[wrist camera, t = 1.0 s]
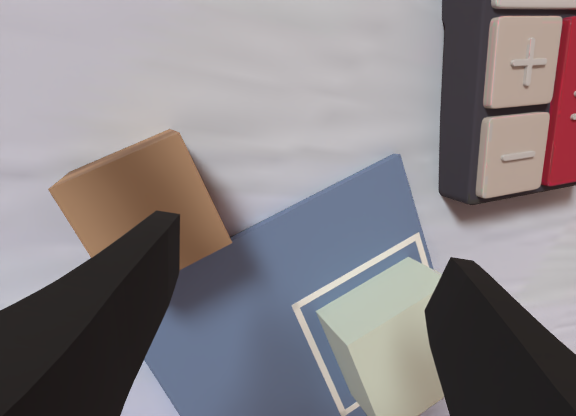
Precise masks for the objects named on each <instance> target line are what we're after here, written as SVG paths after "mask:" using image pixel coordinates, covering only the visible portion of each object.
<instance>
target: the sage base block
mask: <svg viewBox="0 0 576 416" xmlns="http://www.w3.org/2000/svg"><path fill="white" fill-rule="evenodd" d="M441 276H442V274H441V273H439V272H437V271H435V270H433V269H431V268H429V267H427V266H425V265H423V264H422V263H420V262H418V261H416V260H414V259H412V258H410V257H407V258H405V259H403V260H402V261H400V262H398V263H397V264H395V265H393V266H392V267H390V268H388V269H386V270H385V271H383V272H381V273H380V274H378V275H376V276H375V277H373V278H371V279H369V280H368V281H366V282H364V283H363V284H361V285H359V286H358V287H356V288H354V289H352V290H351V291H349V292H347V293H346V294H344V295H342V296H341V297H339V298H337V299H335V300H334V301H332V302H330V303H329V304H327V305H325V306H324V307H322V308H320V309H318V310H317V311H316V314H317V316H318V318H319V321H320V323H321V325H322V328H323V330H324V332H325V335H326V337H327V339H328V342H329V344H330V346H331V349H332V351H333V353H334V356H335V358H336V360H337V363H338V365H339V367H340V370H341V372H342V374H343V377H344V379H345V381H346V384H347V386H348V388H349V391H350V393H351V395H352V396H353V397H354V399H355V400H356V401H357V403H358V404H359V405H360V407H361V408H362V409H363V410H364V412H365V413H366V414H367V416H418V415H420V414H421V413H423V412H424V411H425V410H427V409H428V408H430V407H431V406H432V405H434V404H435V403H437V402H438V401H440V400H441V399H442V398H444V394H443V390H442V387H441V384H440V380H439V377H438V374H437V370H436V367H435V363H434V360H433V356H432V353H431V349H430V345H429V339H428V333H427V327H426V319H425V311H424V310H425V308H426V306H427V304H428V302H429V300H430V298H431V296H432V294H433V292H434V290H435V288H436V286H437V284H438V282H439V280H440V278H441Z"/></svg>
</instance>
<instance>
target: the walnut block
mask: <svg viewBox="0 0 576 416" xmlns="http://www.w3.org/2000/svg"><path fill="white" fill-rule="evenodd" d="M48 190H49V191H50V193H51V195H52V196H53V198H54V199H55V201H56V202H57V204H58V206H59V207H60V209H61V210H62V212H63V214H64V215H65V217H66V218H67V220H68V222H69V223H70V225H71V226H72V228H73V229H74V231H75V233H76V234H77V236H78V237H79V239H80V241H81V242H82V244H83V245H84V247H85V249H86V250H87V252H88V253H89V255H90V256H91V258H92V257H94V256H95V255H96V254H98V253H99V252H101V251H102V250H103V249H105V248H106V247H108V246H109V245H110V244H112V243H113V242H115V241H116V240H117V239H119V238H120V237H121V236H123V235H124V234H125V233H127V232H128V231H129V230H131V229H132V228H133V227H135V226H136V225H137V224H139V223H140V222H141V221H143V220H144V219H145V218H147V217H148V216H149V215H151V214H152V213H154V212H155V211H157V210H158V211H164V212H170V213H176V214H180V268H179V270H181V269H183V268H185V267H187V266H189V265H191V264H193V263H194V262H196V261H198V260H200V259H202V258H204V257H206V256H208V255H210V254H212V253H214V252H216V251H218V250H220V249H222V248H224V247H226V246H227V245H229V244H231V243H232V241H231V239H230V237H229V235H228V233H227V231H226V228H225V226H224V224H223V222H222V220H221V218H220V216H219V214H218V212H217V210H216V208H215V206H214V204H213V201H212V199H211V197H210V195H209V193H208V191H207V189H206V187H205V185H204V183H203V181H202V179H201V177H200V174H199V172H198V170H197V168H196V166H195V164H194V162H193V160H192V158H191V156H190V154H189V152H188V150H187V147H186V145H185V143H184V141H183V139H182V137H181V135H180V133H179V132H176V131H174V130H171V129H169V130H166V131H164V132H162V133H159V134H157V135H155V136H152V137H150V138H148V139H145V140H143V141H141V142H138V143H136V144H134V145H131V146H129V147H127V148H124V149H122V150H120V151H117V152H115V153H113V154H110V155H108V156H106V157H103V158H101V159H99V160H96V161H94V162H92V163H89V164H87V165H85V166H82V167H80V168H78V169H75V170H73V171H71V172H69V173H68V174H67V175H65V176H64V177H63V178H62V179H60V180H59V181H58V182H57V183H55V184H54V185H53V186H52V187H50V188H49V189H48Z"/></svg>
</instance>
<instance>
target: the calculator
mask: <svg viewBox="0 0 576 416" xmlns="http://www.w3.org/2000/svg"><path fill="white" fill-rule="evenodd" d="M442 20H443V23H444V26H445V37H444V56H443V74H442V92H441V111H440V147H439V193H440V194H441V195H442V196H445V197H448V198H451V199H454V200H457V201H460V202H463V203H466V204H470V205H475V204H480V203H485V202H490V201H496V200H501V199H506V198H511V197H517V196H522V195H527V194H532V193H538V192H543V191H548V190H553V189H559V188H564V187H569V186H574V185H576V0H442Z"/></svg>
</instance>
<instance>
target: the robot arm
mask: <svg viewBox="0 0 576 416" xmlns="http://www.w3.org/2000/svg"><path fill="white" fill-rule="evenodd" d="M179 268H180V214H176V213H170V212H164V211H158V210H157V211H155V212H154V213H152V214H151V215H149V216H148V217H147V218H145V219H144V220H143V221H141V222H140V223H139V224H137V225H136V226H135V227H133V228H132V229H131V230H129V231H128V232H127V233H125V234H124V235H123V236H121V237H120V238H119V239H117V240H116V241H115V242H113V243H112V244H110V245H109V246H108V247H106V248H105V249H103V250H102V251H101V252H99V253H98V254H96V255H95V256H94V257H92V258H91V259H89V260H88V261H86V262H85V263H83V264H81V265H80V266H78V267H77V268H75V269H74V270H72V271H71V272H69V273H67V274H66V275H64V276H63V277H61V278H60V279H58V280H56V281H55V282H53V283H51V284H49V285H48V286H46V287H44V288H43V289H41V290H39V291H37V292H35V293H33V294H31V295H30V296H28V297H26V298H24V299H22V300H20V301H18V302H17V303H15V304H13V305H11V306H9V307H7V308H5V309H2V310H0V416H120V415H121V412H122V409H123V406H124V404H125V401H126V399H127V396H128V394H129V391H130V389H131V387H132V384H133V382H134V380H135V378H136V376H137V373H138V371H139V369H140V367H141V365H142V363H143V361H144V359H145V356H146V354H147V352H148V350H149V348H150V346H151V344H152V341H153V339H154V337H155V335H156V333H157V331H158V329H159V326H160V324H161V322H162V320H163V318H164V316H165V313H166V311H167V309H168V307H169V304H170V301H171V298H172V295H173V292H174V289H175V285H176V282H177V279H178V276H179ZM424 311H425V319H426V327H427V333H428V339H429V345H430V349H431V353H432V356H433V360H434V363H435V367H436V370H437V374H438V377H439V380H440V384H441V387H442V390H443V394H444V397H445V400H446V404H447V407H448V410H449V414H450V416H576V354H574V353H573V352H572V351H571V350H570V349H569V348H567V347H566V346H565V345H564V344H563V343H562V342H561V341H559V340H558V339H557V338H556V337H555V336H554V335H553V334H551V333H550V332H549V331H548V330H547V329H546V328H545V327H544V326H543V325H542V324H541V323H539V322H538V321H537V320H536V319H535V318H534V317H533V316H532V315H531V314H530V313H529V312H528V311H527V310H526V309H524V308H523V307H522V306H521V305H520V304H519V303H518V302H517V301H516V300H515V299H514V298H513V297H512V296H511V295H510V294H509V293H508V292H507V291H506V290H505V289H504V288H503V287H502V286H500V285H499V284H498V283H497V282H496V281H495V280H494V279H493V278H492V277H491V276H490V275H489V274H488V273H487V272H486V271H484V270H483V269H482V268H481V267H480V266H479V265H478V264H476V263H475V262H474V261H472V260H465V259H459V258H453V257H451V258H450V260H449V262H448V264H447V266H446V268H445V270H444V272H443V274H442V276H441V278H440V280H439V282H438V284H437V286H436V288H435V290H434V292H433V294H432V296H431V298H430V300H429V302H428V304H427V306H426V308H425V310H424Z"/></svg>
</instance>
